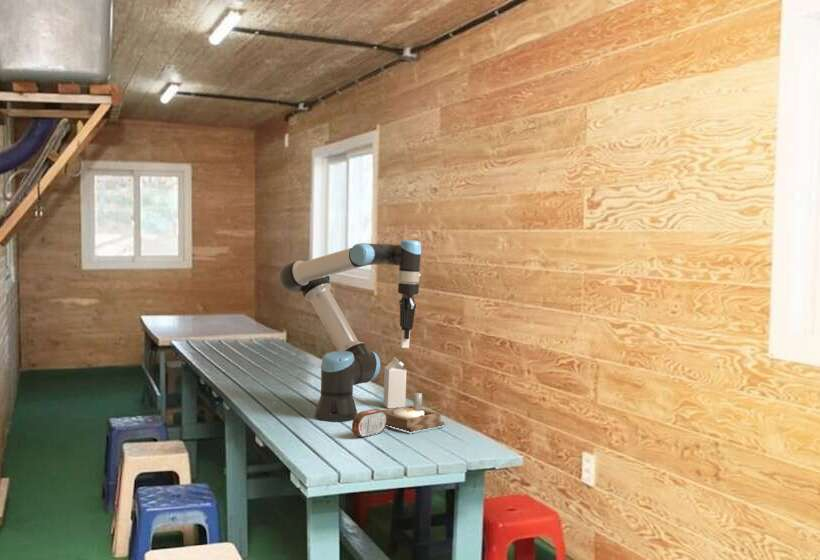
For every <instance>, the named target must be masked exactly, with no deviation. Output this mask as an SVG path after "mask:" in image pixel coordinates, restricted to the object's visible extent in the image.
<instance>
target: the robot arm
mask: <svg viewBox="0 0 820 560" xmlns="http://www.w3.org/2000/svg"><path fill="white" fill-rule="evenodd" d="M421 255H422V243H421V242H420V241H419V240H414V239H413V240H411V239H402V240H400V244H392V243H382V242H381V243H380V242H379V243H365V242H362V243H356V244H354V245H353V246H352V247H350V248H347V249H342V250H339V251H335V252H332V253H330V254H329V253H328V254H325V255H322V256H319V257H318V256H317V257H315V258H312V259H309V260H305V261H304V260H296V261H291V262H287V263H285V264H284V265H283V266H282V267H281V268H280V271H278V273H279V274H278V280H279V284H280V285H281V287H282V288H284V289H285V290H286V291H288V292H291V293H299V292H300V293H301V295H302V296H303V298H304V300H305V301H308V302H310V303H311V305H312V307H313V308H314V310H315V312H316V313H317V315H318V317H319V319H320V321H321V323H322V325H323V326H324V329H325V330H326V332H327V334H328V335H329V338H330V339H331V341H332V342H333V344H334V346H335V347H336V351H330V352H327V353H325V354H323V356H322V359H321V363H320V364H321V365H320V368H321V372H320V396H319V400H318V403H317V406H316V408H315V416H314V417H315V418H316V419H317V420H321V421H327V422H348V421H353V420H354V418H355V416H356V415H357V414H358V411H357V407H356V404H355V399H354V392H353V391H354V385H356V386H357V385H360V384H366V383H369V382H371V381H373V380H375V379H376V378H378V375H379V373H380V371H381V370H380V369H381V360H380V357H379V355H378V354H377V353H376V352H374V351H373V350H370V349H368V348H367V346H366V344H365V342H363V341H360V340H359V339H358V338H357V336H356V335H355V333H354V331H353V329H352V328H351V325H350V324H349V322H348V320H347V318H346V317H345V315H344V313H343V311H342V310H341V308H340V306H339V304H338V303H337V301H336V298H335V297H334V296H333V294H332V292H331V289H332V284H331V282H332V279H331V278H332V275H336V274H339V273H343V272H347V271H350V270H354V269H357V268H361V267H365V266H371V265H374V266H375V265H377V266H378V265H379V266H381V265H391V266H398V282H399V283H398V284H397V285H398V286H397V293H398V294H401V295H402V296H401V298H400V299H399V301H398V304H399V326H400V328H401V336H400V337H401V338H400V339H401V340H400V341H401V342H400V348H402V349H405V348H406V349H409V348H410V341H411V339H410V338H411V337H410V336H411V330H412V329H413V327H414V319H415V312H416V308H417V304H416V303H415V298H414V296H415V295H418V294H419V292H420V291H419V290H420V288H419V287H420V284H418V283H420V278H421V274H420V273H421V272H420V268H421V257H422V256H421Z"/></svg>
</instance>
